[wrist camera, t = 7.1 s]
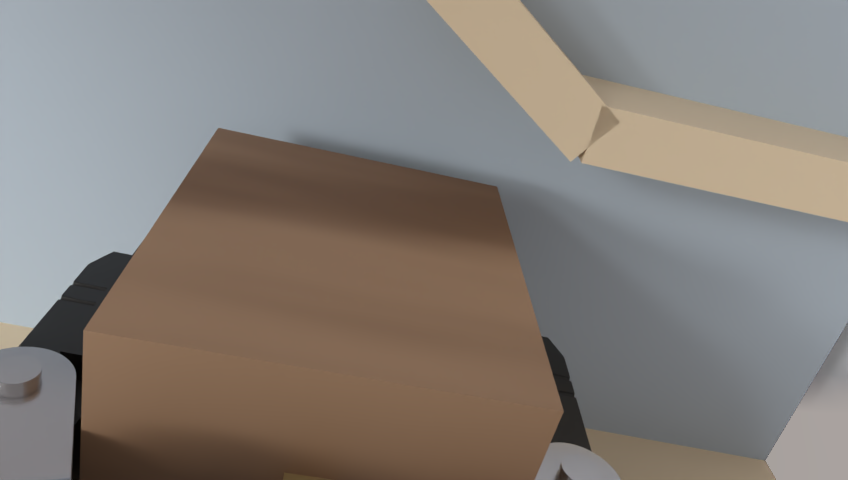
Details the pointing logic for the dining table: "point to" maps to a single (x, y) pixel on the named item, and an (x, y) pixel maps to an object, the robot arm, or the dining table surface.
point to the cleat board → (491, 172)
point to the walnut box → (318, 330)
